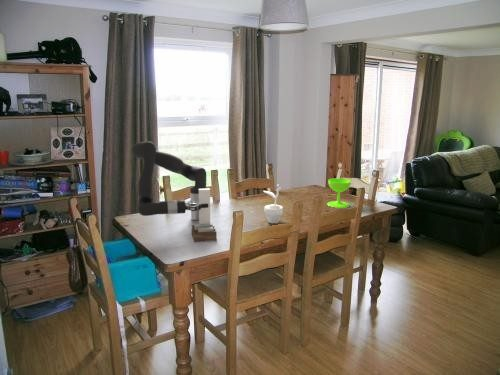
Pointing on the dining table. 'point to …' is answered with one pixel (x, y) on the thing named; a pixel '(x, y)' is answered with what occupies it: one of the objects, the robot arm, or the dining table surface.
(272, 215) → the potted plant
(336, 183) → the wineglass
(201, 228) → the offcut stack
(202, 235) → the offcut rack
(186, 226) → the dining table surface
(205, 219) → the tall board
